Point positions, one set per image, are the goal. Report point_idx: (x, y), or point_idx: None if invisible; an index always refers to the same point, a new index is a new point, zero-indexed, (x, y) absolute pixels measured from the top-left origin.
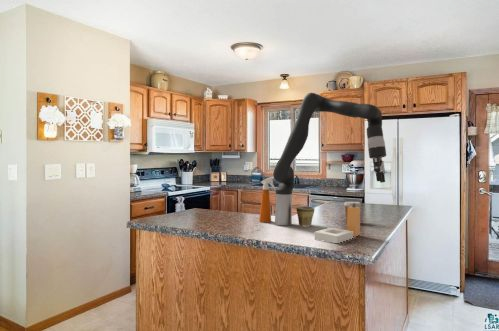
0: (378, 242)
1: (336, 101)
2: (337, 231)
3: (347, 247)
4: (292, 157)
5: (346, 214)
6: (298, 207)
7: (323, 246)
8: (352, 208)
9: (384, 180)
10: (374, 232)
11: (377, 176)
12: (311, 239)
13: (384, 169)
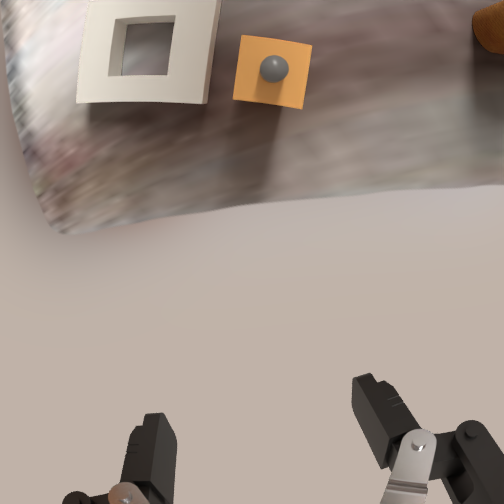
0: (220, 201)
1: None
2: (173, 43)
3: (81, 149)
4: None
5: (495, 4)
6: None
7: (43, 90)
8: (236, 74)
9: (357, 416)
10: (385, 138)
11: (128, 456)
12: None
13: (467, 486)
